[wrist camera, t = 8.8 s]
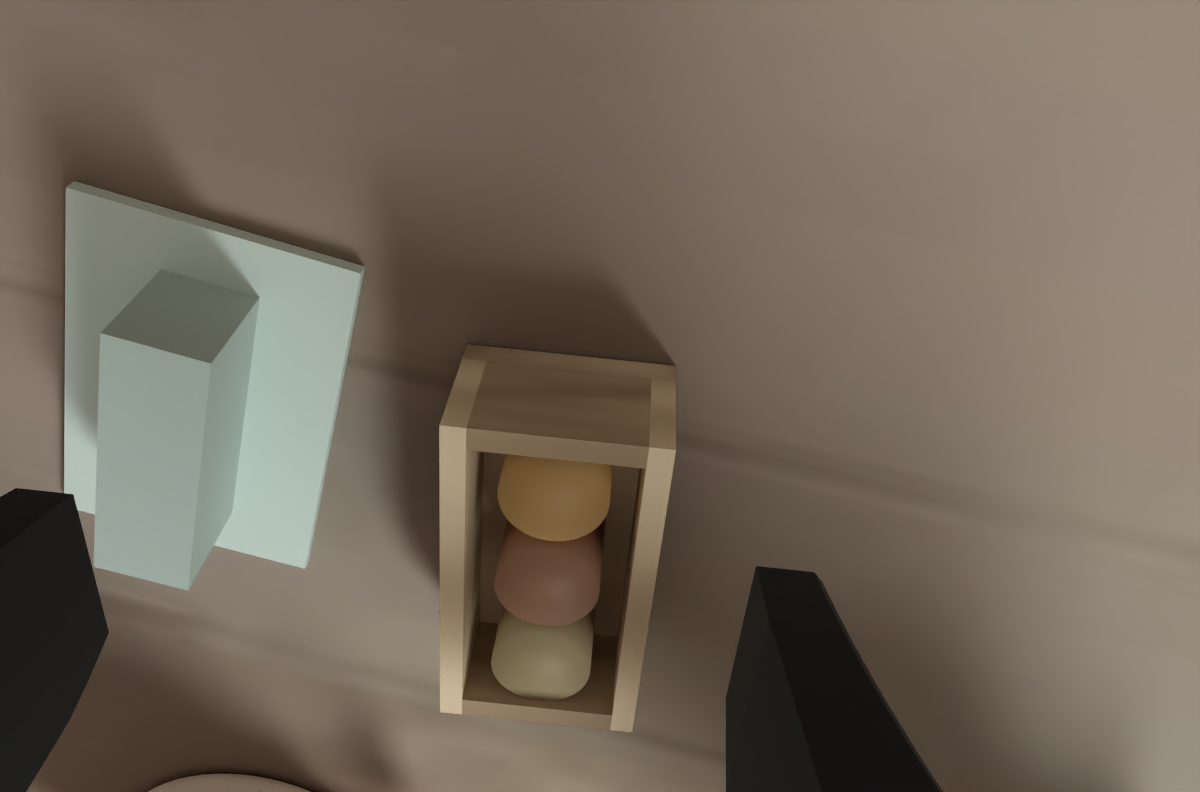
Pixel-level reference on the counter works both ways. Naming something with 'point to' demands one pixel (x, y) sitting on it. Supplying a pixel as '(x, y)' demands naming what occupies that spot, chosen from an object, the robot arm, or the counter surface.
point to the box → (551, 533)
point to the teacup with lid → (226, 784)
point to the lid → (197, 385)
